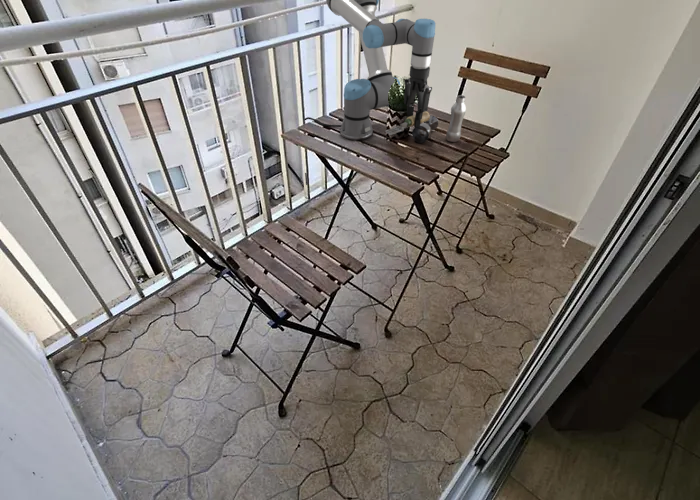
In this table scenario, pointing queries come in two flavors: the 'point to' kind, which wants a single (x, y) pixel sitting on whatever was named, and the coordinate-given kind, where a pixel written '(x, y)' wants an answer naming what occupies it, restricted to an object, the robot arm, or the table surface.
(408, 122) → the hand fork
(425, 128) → the wine glass
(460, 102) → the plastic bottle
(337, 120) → the table surface
